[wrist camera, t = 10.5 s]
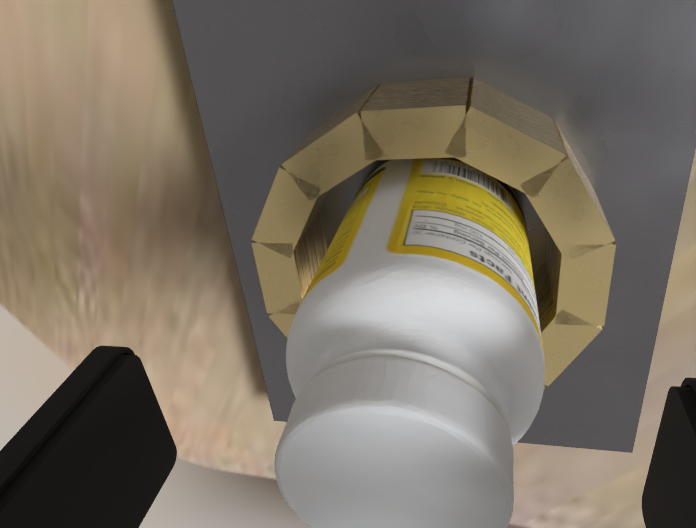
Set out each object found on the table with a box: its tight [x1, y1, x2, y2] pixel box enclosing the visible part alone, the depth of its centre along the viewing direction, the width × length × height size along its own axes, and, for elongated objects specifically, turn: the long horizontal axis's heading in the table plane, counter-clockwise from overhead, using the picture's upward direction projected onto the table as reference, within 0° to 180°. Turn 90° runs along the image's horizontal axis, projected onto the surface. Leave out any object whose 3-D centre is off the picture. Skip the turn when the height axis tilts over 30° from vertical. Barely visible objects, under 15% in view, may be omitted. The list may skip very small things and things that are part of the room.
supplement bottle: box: [275, 157, 545, 528], centre depth 13 cm, size 5×5×10 cm
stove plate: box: [172, 0, 696, 453], centre depth 17 cm, size 18×14×4 cm
